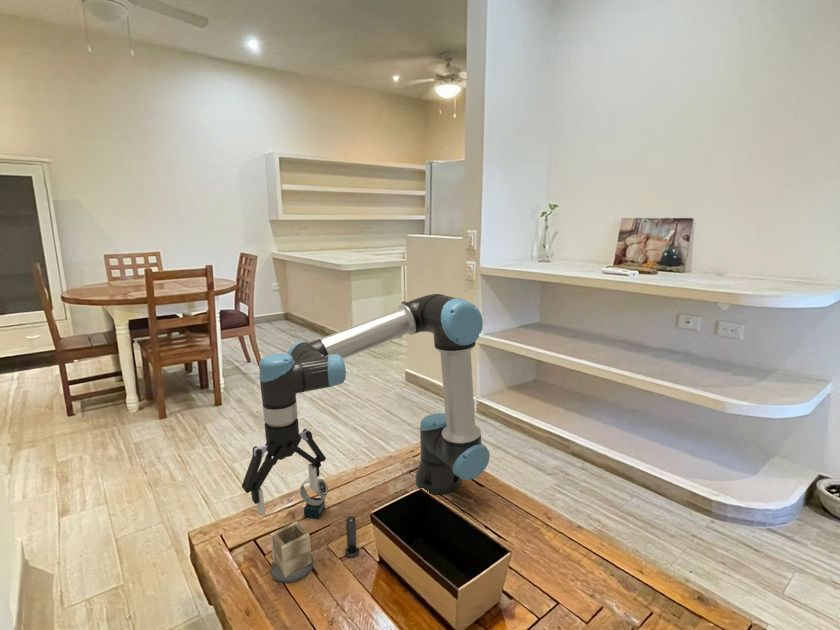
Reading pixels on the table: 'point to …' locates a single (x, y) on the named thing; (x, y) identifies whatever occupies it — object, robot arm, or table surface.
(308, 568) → the stand
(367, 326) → the robot arm
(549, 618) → the table surface
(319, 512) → the watch
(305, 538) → the wooden square sleeve
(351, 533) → the stand
